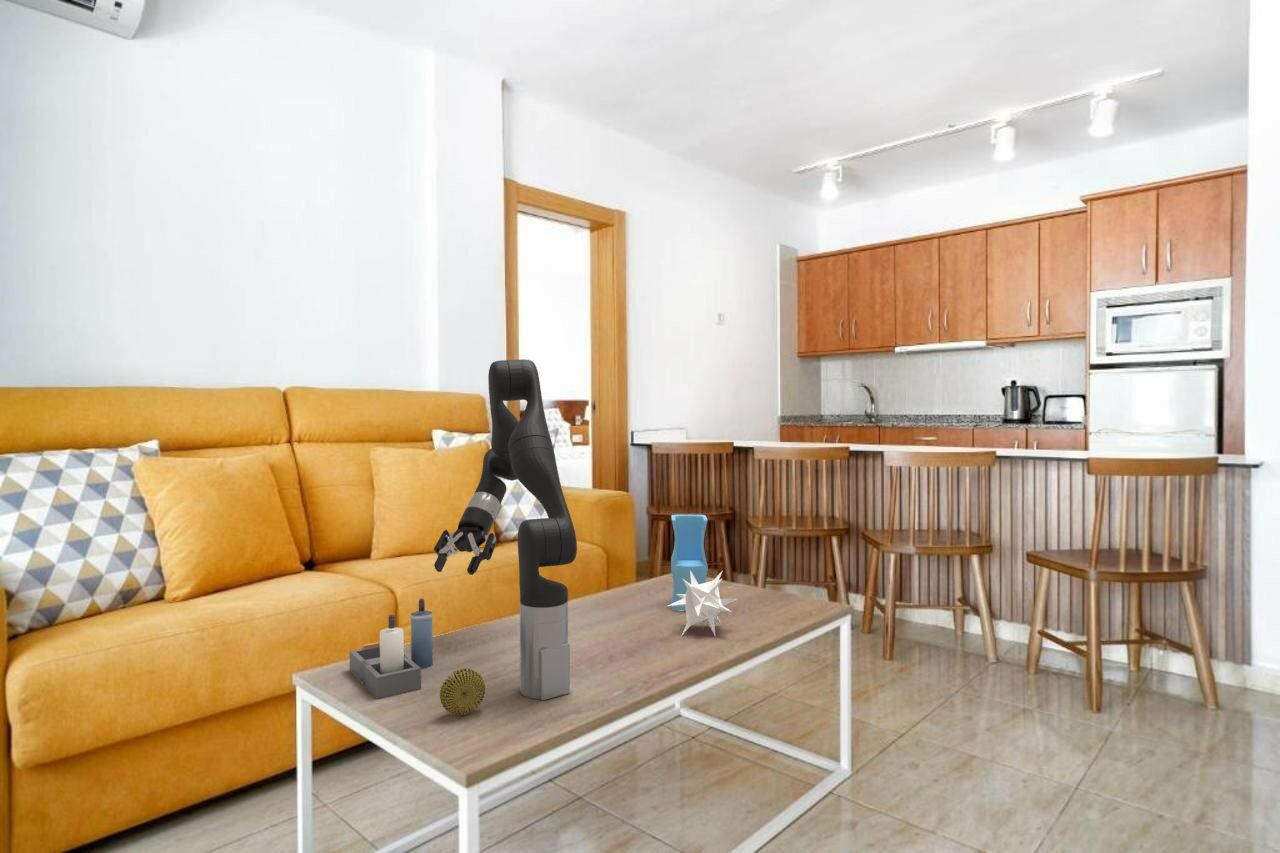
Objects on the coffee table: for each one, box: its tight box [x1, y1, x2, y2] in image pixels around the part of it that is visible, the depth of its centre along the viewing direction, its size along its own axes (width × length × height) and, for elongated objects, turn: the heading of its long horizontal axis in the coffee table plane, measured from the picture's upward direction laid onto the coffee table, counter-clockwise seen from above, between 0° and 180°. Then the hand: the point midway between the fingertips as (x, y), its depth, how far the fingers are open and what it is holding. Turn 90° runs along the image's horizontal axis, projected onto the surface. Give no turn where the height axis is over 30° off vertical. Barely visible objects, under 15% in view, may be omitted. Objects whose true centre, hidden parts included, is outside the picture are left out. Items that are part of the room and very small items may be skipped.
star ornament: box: [667, 570, 738, 637], centre depth 175 cm, size 20×14×14 cm
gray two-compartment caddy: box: [349, 613, 422, 700], centre depth 143 cm, size 19×8×14 cm, turn 37°
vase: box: [670, 514, 709, 611], centre depth 197 cm, size 10×10×25 cm
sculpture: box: [439, 668, 486, 716], centre depth 126 cm, size 8×4×8 cm, turn 118°
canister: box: [410, 598, 434, 669], centre depth 151 cm, size 4×4×14 cm
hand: (453, 571), depth 162 cm, fingers open, 8 cm apart
